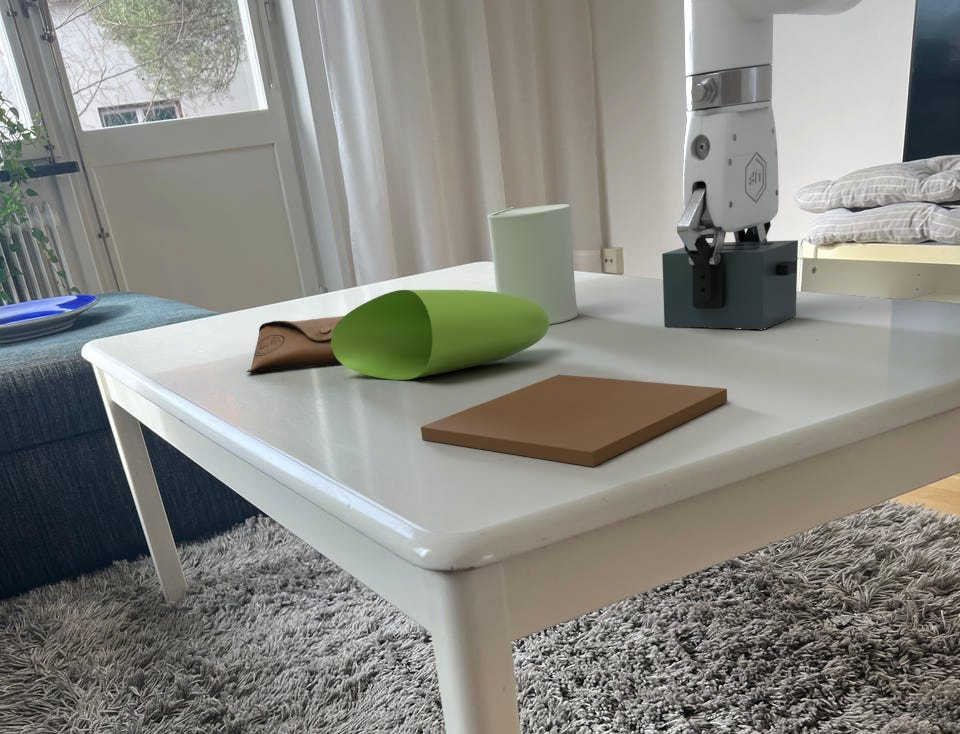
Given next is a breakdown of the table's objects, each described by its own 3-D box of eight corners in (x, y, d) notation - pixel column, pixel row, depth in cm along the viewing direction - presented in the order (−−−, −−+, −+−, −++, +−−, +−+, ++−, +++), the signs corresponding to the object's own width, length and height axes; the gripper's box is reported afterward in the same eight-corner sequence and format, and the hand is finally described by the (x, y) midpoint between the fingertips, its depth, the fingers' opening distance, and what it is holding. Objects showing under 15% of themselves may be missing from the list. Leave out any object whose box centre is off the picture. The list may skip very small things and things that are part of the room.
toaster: (807, 316, 95) (810, 239, 91) (774, 331, 91) (775, 250, 88) (699, 313, 103) (698, 242, 99) (664, 326, 99) (661, 253, 96)
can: (501, 316, 116) (490, 207, 110) (579, 308, 115) (571, 197, 109) (494, 331, 108) (481, 214, 102) (577, 322, 107) (569, 203, 101)
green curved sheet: (346, 288, 82) (567, 270, 87) (325, 302, 93) (521, 285, 98) (359, 384, 84) (574, 361, 89) (337, 386, 95) (528, 366, 100)
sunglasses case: (241, 371, 101) (238, 309, 102) (264, 392, 108) (261, 333, 109) (410, 353, 99) (406, 290, 100) (423, 375, 106) (419, 316, 107)
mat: (727, 401, 71) (727, 388, 71) (593, 467, 62) (592, 452, 61) (559, 386, 82) (558, 374, 81) (422, 439, 72) (420, 426, 72)
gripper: (713, 96, 80) (714, 319, 89) (813, 83, 91) (806, 284, 99) (638, 106, 85) (646, 317, 93) (741, 93, 96) (741, 284, 104)
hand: (728, 298), depth 96 cm, fingers closed on toaster, 6 cm apart
